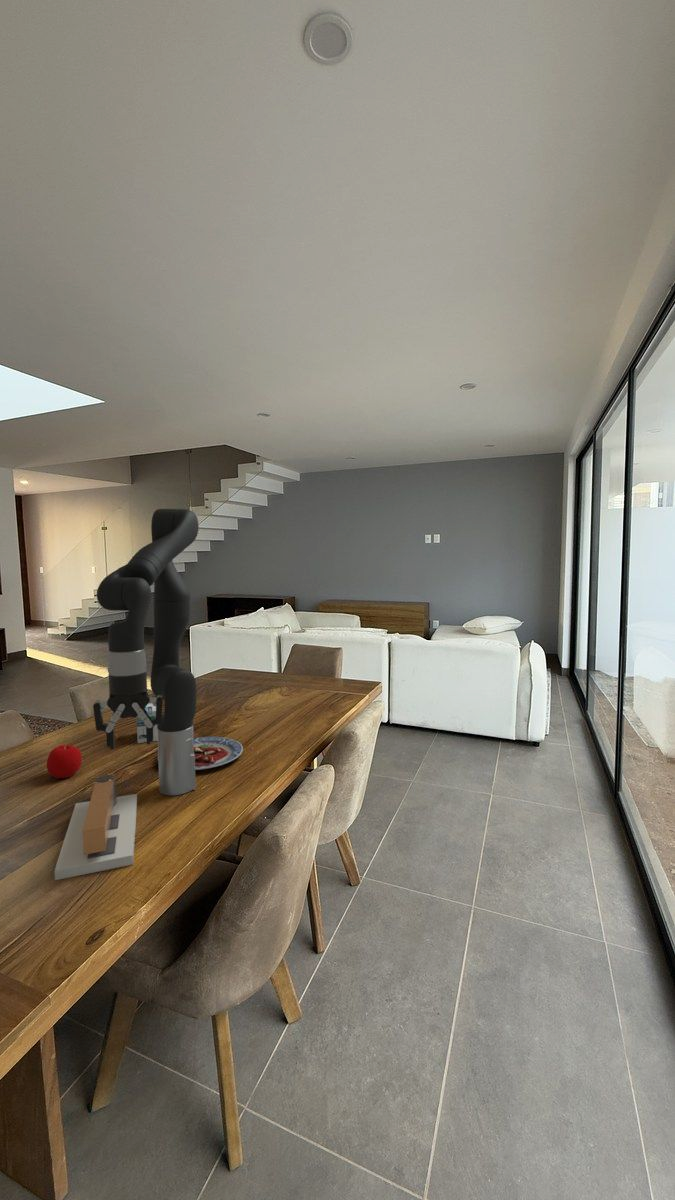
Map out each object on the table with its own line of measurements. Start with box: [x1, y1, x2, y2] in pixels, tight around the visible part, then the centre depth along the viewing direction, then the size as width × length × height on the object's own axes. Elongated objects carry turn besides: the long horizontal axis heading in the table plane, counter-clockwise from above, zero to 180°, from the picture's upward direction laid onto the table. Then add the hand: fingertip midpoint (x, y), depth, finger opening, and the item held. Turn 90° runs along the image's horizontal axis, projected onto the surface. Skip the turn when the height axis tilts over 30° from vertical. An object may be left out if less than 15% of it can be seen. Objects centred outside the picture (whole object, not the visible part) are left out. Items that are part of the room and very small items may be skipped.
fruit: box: [46, 740, 83, 779], centre depth 141 cm, size 9×9×10 cm
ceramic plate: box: [194, 736, 244, 771], centre depth 154 cm, size 26×26×3 cm
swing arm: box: [83, 773, 116, 855], centre depth 110 cm, size 4×26×5 cm, turn 21°
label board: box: [54, 793, 138, 881], centre depth 111 cm, size 14×28×3 cm, turn 21°
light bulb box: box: [135, 702, 158, 744], centre depth 171 cm, size 11×7×11 cm, turn 22°
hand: (130, 745), depth 107 cm, fingers open, 6 cm apart
